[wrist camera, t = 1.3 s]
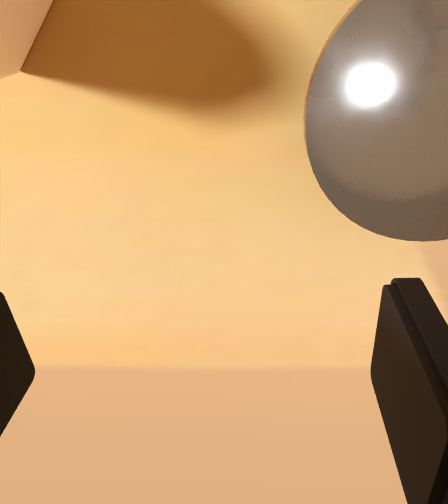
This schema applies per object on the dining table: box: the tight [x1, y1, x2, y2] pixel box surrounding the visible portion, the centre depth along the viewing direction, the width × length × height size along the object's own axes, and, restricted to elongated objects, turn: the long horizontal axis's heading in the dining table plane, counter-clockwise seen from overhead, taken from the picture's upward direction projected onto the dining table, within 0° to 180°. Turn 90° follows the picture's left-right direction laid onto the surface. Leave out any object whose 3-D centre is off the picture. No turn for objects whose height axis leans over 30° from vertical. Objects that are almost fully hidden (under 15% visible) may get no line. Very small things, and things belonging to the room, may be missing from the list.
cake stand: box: [304, 0, 448, 241], centre depth 28 cm, size 17×17×8 cm
